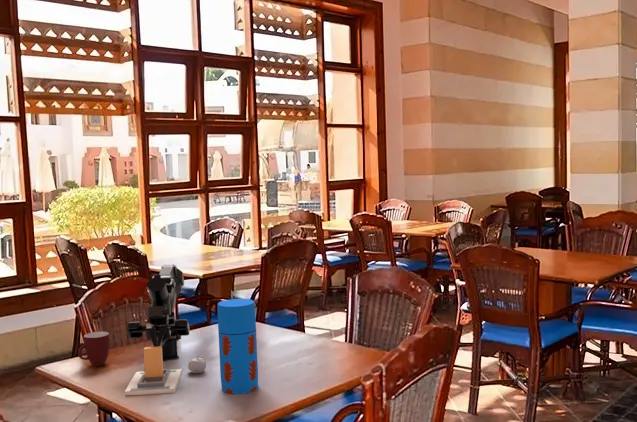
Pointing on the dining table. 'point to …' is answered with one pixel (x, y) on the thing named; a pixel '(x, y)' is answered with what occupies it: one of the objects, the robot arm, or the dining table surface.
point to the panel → (154, 383)
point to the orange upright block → (153, 363)
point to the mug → (96, 347)
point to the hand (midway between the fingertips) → (156, 352)
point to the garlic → (197, 365)
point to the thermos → (237, 346)
